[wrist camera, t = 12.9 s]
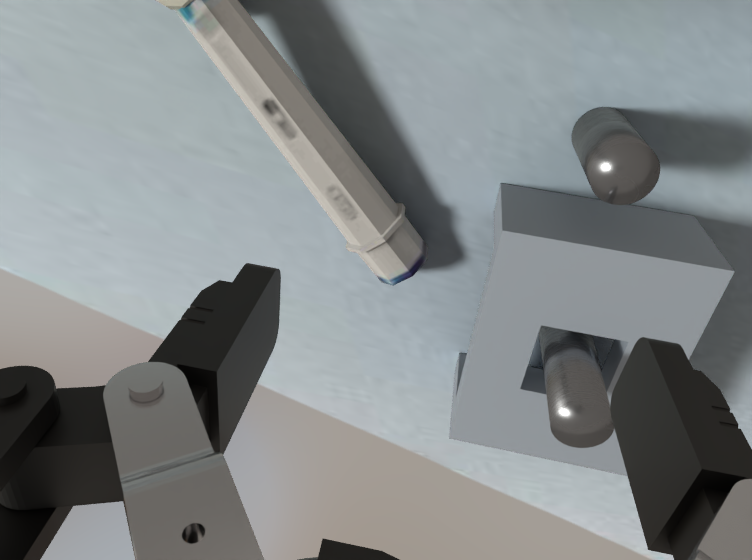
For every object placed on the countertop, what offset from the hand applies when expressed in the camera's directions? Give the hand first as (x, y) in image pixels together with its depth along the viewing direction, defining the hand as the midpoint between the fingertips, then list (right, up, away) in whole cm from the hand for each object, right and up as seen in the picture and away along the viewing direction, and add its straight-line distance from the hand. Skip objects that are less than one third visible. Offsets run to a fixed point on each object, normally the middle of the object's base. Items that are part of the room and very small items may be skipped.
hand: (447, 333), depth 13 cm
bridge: (+11, 0, +27) cm, 29 cm away
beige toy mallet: (-6, +13, +23) cm, 27 cm away
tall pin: (+11, 0, +27) cm, 29 cm away
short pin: (+12, +10, +21) cm, 26 cm away
